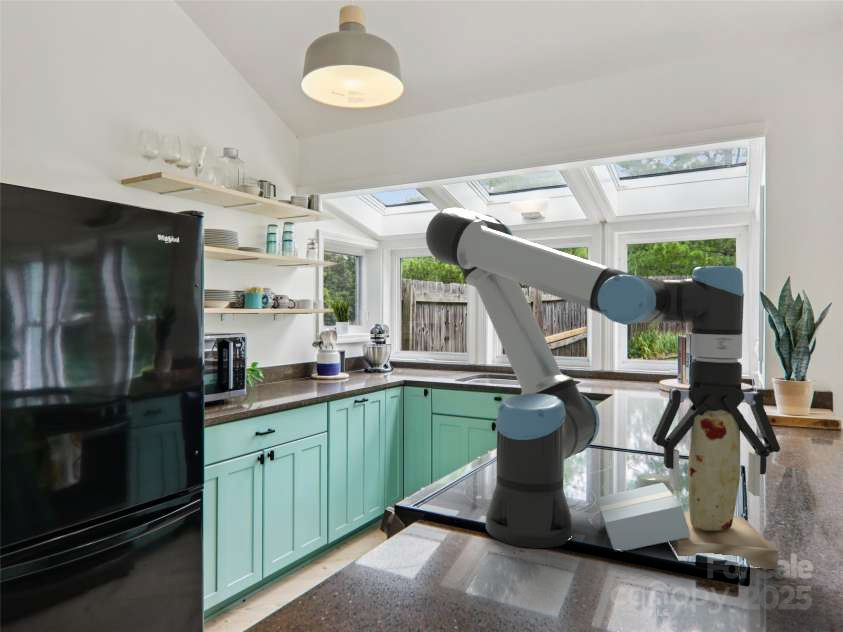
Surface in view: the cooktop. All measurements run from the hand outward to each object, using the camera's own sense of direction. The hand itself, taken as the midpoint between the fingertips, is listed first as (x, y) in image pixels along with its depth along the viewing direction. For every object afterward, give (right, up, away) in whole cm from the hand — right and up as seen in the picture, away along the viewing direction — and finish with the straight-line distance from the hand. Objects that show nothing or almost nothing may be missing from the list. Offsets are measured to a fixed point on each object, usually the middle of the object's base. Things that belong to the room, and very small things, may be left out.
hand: (713, 490), depth 92 cm
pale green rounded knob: (-4, -9, +14) cm, 17 cm away
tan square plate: (0, -9, 0) cm, 9 cm away
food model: (0, -6, 0) cm, 6 cm away
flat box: (-11, -7, +2) cm, 13 cm away
